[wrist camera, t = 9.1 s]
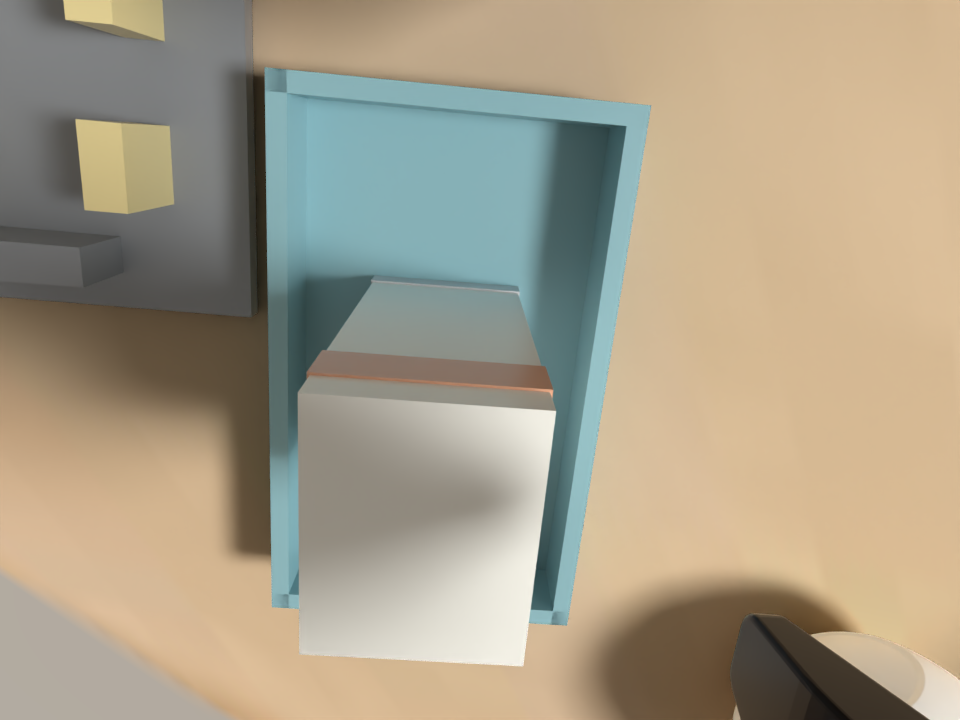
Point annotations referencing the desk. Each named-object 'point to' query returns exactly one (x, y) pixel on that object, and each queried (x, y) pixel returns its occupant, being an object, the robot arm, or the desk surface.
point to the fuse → (423, 477)
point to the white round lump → (898, 672)
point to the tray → (448, 253)
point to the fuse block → (128, 154)
